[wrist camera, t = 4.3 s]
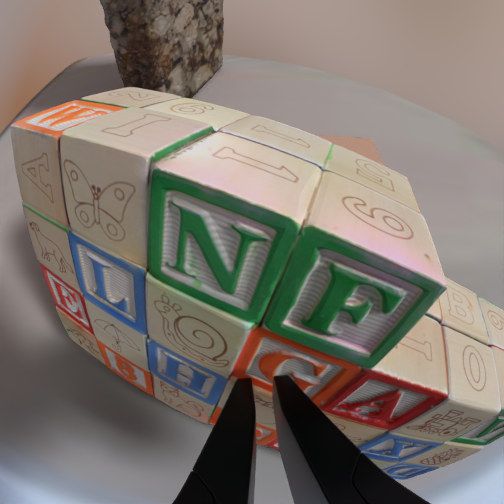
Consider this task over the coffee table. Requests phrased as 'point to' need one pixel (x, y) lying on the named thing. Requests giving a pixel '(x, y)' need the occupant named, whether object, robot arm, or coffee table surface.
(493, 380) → the stack of blocks
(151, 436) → the coffee table surface
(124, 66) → the stone block
